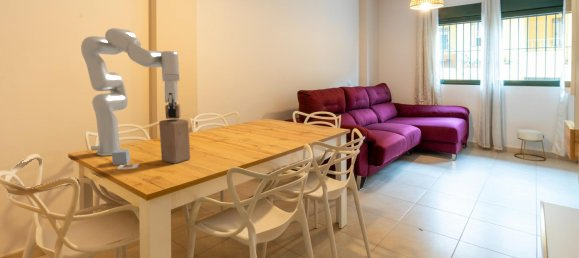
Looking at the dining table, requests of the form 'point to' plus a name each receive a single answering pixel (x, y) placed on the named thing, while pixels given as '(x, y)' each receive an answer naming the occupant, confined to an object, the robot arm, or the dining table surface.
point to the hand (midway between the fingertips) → (173, 115)
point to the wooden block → (174, 140)
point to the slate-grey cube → (121, 157)
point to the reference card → (128, 166)
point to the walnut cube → (178, 113)
